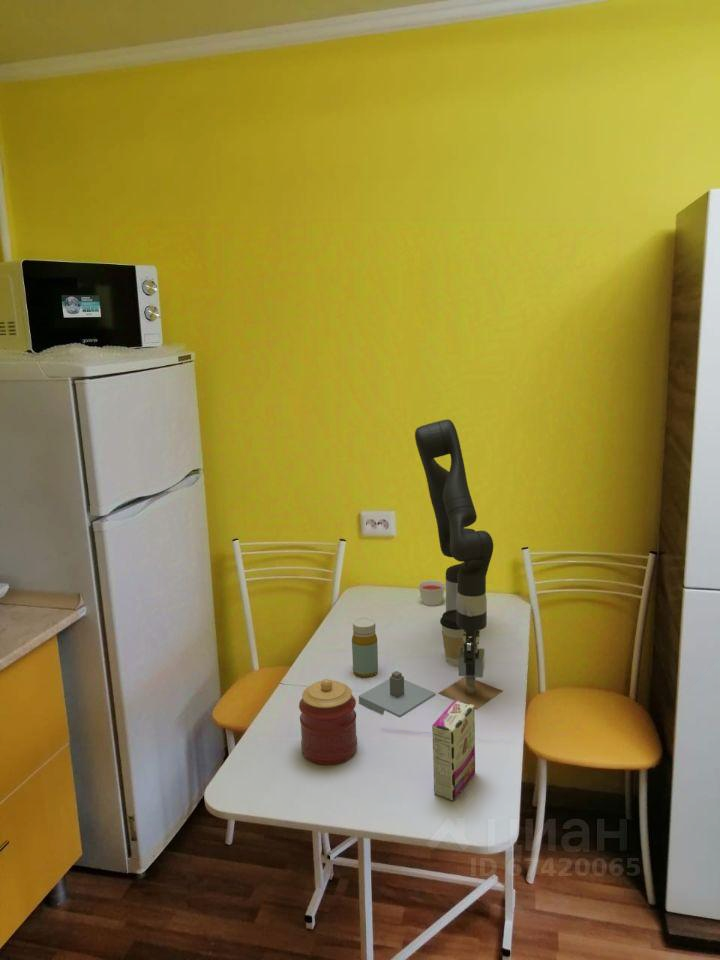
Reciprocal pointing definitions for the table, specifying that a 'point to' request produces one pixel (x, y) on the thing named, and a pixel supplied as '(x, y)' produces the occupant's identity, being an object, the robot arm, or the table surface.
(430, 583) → the candle
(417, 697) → the square plate
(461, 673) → the recessed metal cube
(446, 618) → the coffee cup
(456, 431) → the robot arm
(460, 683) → the stand
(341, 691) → the canister
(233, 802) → the table surface
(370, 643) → the bottle
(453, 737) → the candy bar box
